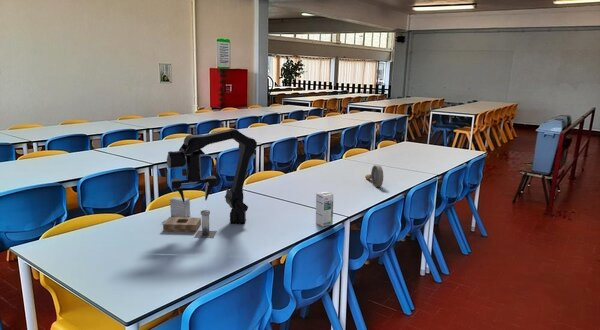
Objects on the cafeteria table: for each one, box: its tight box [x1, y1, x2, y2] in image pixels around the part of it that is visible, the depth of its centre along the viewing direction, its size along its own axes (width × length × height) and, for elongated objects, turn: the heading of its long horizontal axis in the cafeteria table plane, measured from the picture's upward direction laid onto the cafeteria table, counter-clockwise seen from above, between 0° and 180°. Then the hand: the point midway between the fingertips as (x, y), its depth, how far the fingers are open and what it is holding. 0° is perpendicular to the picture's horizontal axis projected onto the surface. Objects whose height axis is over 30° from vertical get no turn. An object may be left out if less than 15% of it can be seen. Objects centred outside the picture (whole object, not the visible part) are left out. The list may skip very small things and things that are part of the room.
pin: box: [200, 209, 211, 236], centre depth 183 cm, size 4×4×10 cm
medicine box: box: [169, 196, 191, 218], centre depth 205 cm, size 8×4×9 cm, turn 74°
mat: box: [193, 229, 218, 239], centre depth 184 cm, size 8×8×1 cm
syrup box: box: [315, 191, 334, 227], centre depth 199 cm, size 6×6×14 cm
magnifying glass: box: [364, 164, 384, 188], centre depth 271 cm, size 13×3×25 cm
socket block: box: [162, 216, 202, 233], centre depth 190 cm, size 14×9×4 cm, turn 90°
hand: (194, 201), depth 187 cm, fingers open, 9 cm apart
